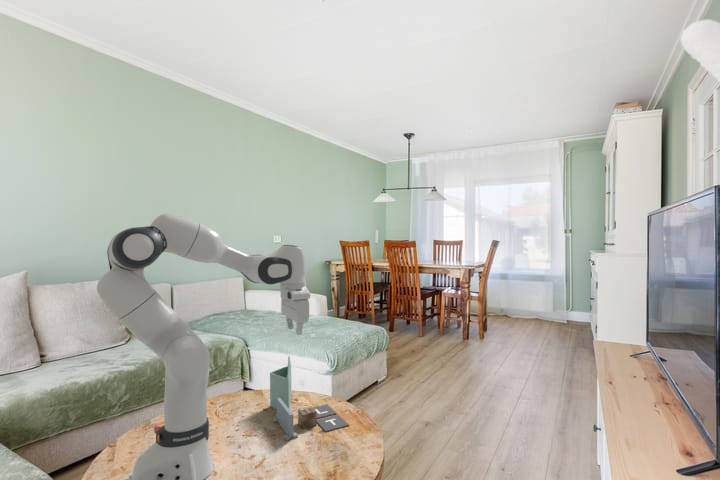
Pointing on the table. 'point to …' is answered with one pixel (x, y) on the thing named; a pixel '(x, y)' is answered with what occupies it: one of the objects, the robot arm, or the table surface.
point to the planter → (281, 385)
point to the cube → (307, 417)
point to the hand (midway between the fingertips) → (294, 331)
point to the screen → (285, 419)
